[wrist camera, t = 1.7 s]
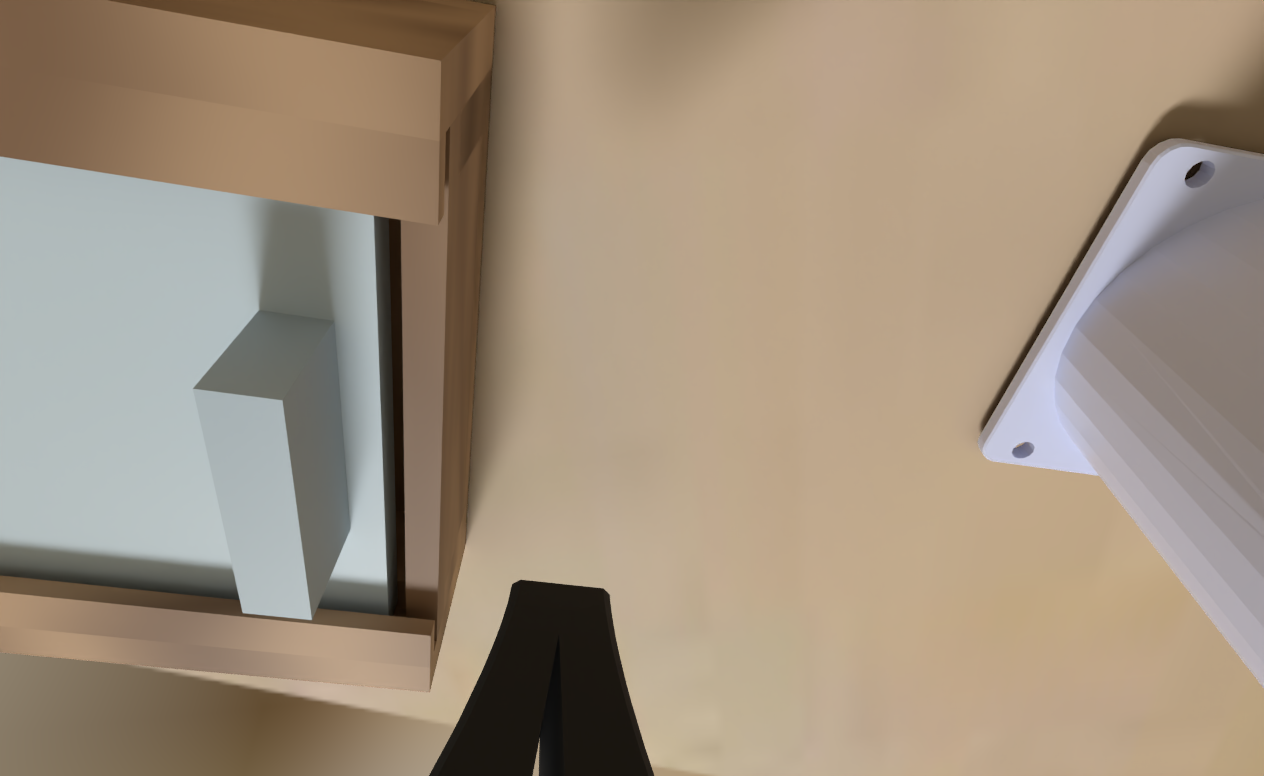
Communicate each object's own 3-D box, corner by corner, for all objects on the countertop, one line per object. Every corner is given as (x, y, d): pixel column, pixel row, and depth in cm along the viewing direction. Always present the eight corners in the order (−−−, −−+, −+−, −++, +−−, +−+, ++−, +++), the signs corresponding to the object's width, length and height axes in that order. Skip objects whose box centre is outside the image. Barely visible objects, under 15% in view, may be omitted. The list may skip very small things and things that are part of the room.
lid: (386, 118, 11) (315, 190, 8) (398, 599, 17) (359, 719, 15) (-251, 7, 10) (-538, 53, 8) (14, 559, 16) (-93, 678, 14)
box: (495, 5, 13) (440, 60, 9) (465, 546, 21) (429, 692, 17) (-130, -114, 12) (-480, -106, 8) (94, 504, 20) (-29, 649, 16)
